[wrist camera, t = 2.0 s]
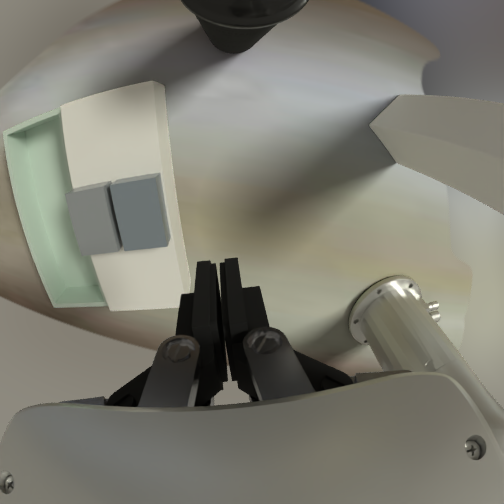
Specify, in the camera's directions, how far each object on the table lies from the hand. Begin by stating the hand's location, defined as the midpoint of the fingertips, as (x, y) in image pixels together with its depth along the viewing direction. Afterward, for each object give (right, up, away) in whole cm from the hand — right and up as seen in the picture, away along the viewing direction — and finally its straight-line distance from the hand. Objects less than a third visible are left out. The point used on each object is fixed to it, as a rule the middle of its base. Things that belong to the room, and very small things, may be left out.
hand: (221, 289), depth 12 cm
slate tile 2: (-13, +5, +12) cm, 18 cm away
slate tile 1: (-8, +5, +12) cm, 15 cm away
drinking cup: (0, +23, +10) cm, 25 cm away
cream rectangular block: (-11, +7, +16) cm, 21 cm away
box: (-20, +7, +16) cm, 26 cm away
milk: (+18, +16, +15) cm, 28 cm away
